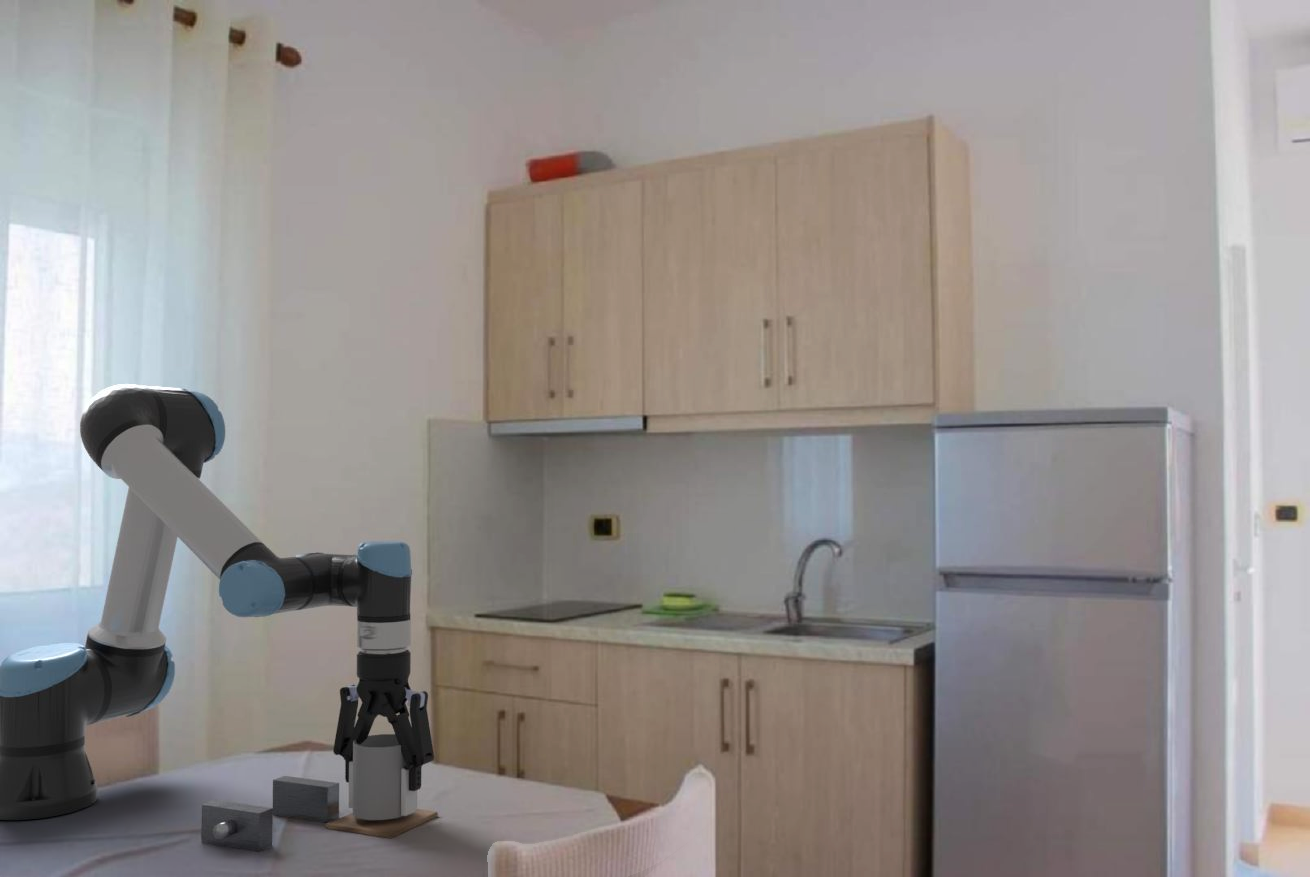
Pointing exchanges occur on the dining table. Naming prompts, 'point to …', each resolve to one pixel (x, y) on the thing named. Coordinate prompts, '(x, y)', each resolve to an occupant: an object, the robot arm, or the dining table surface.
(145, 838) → the dining table surface
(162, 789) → the dining table surface
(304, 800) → the vise jaws
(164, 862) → the dining table surface
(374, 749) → the cup
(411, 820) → the board
